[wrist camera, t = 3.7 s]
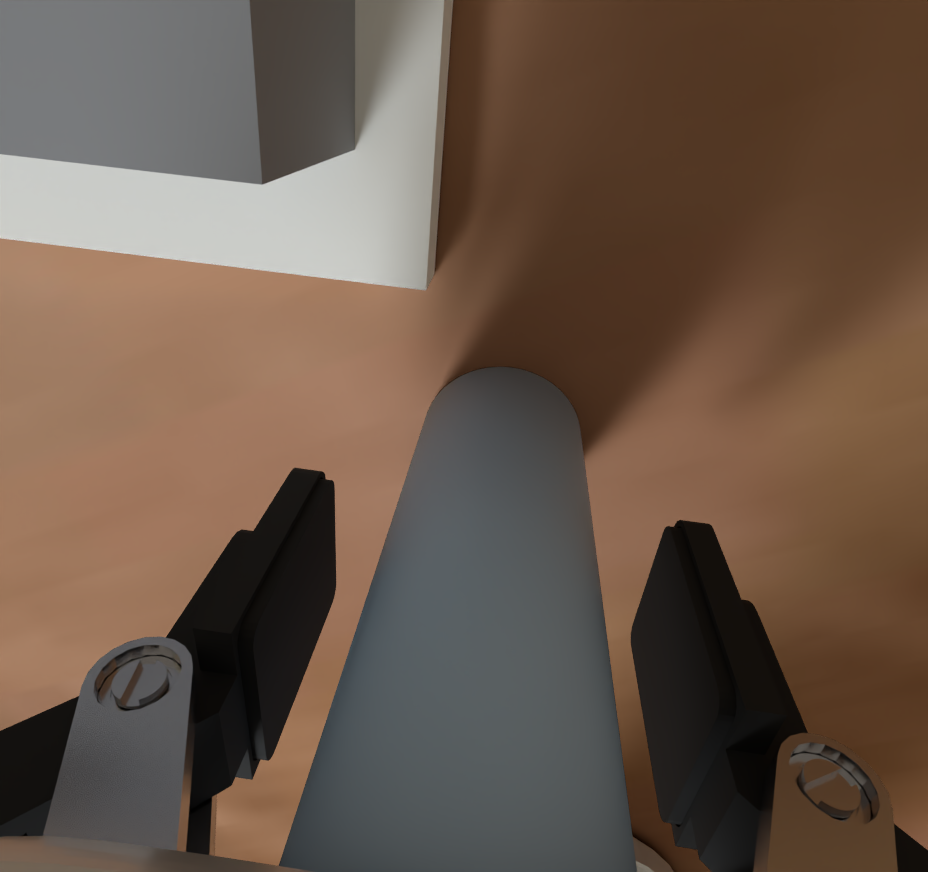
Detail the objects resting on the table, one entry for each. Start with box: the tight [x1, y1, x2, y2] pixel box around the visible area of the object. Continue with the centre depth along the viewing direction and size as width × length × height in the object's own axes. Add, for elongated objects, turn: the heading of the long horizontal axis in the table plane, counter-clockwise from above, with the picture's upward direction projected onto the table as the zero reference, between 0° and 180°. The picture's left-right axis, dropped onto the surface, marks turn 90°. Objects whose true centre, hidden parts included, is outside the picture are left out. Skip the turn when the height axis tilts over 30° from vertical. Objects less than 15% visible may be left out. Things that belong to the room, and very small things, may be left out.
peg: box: [279, 367, 637, 872], centre depth 10 cm, size 4×4×13 cm
